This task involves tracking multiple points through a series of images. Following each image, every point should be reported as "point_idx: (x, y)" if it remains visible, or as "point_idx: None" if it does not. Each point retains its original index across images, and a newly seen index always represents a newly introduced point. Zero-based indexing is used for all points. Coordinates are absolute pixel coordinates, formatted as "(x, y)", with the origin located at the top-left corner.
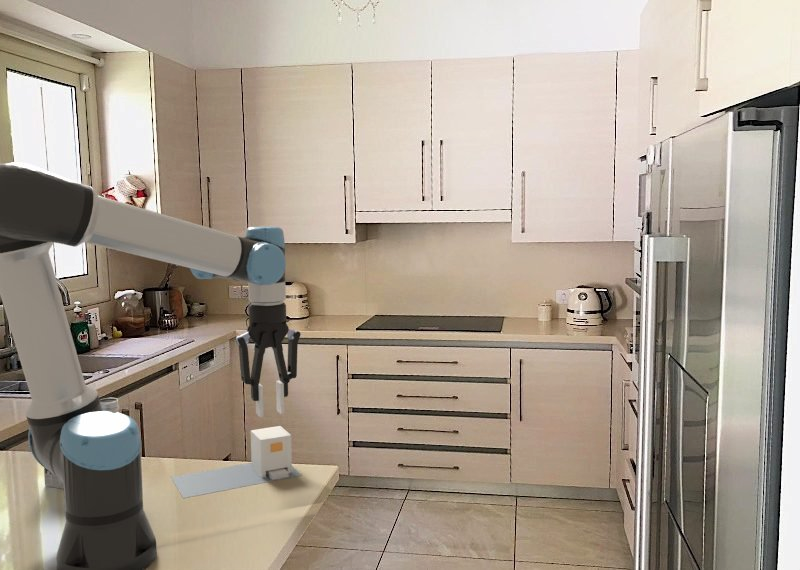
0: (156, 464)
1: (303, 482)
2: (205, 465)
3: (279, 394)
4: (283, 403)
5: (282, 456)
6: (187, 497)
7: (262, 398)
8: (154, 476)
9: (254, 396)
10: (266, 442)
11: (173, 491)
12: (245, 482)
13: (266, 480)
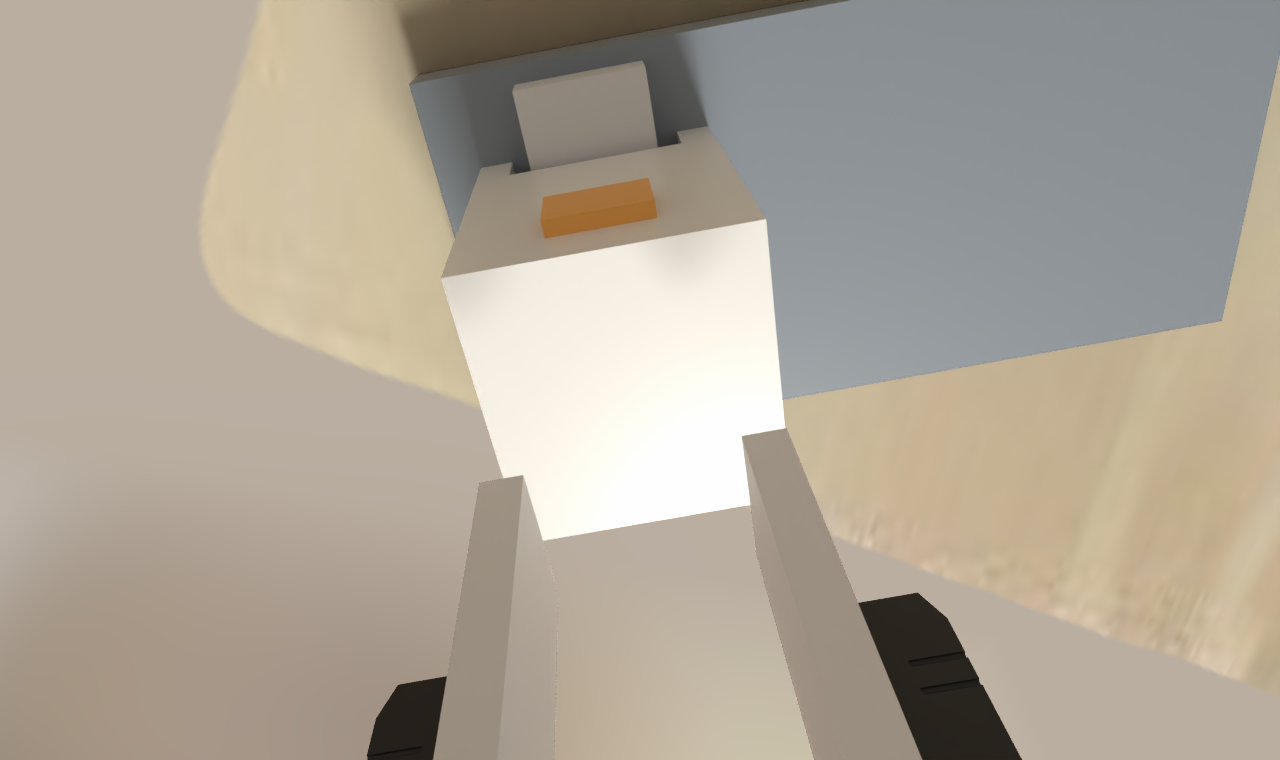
0: (1152, 570)
1: (410, 71)
2: (939, 504)
3: (517, 704)
4: (473, 573)
5: (546, 194)
6: None
7: (807, 609)
8: (1221, 430)
9: (938, 652)
10: (700, 220)
11: None
12: (833, 74)
13: (684, 63)
